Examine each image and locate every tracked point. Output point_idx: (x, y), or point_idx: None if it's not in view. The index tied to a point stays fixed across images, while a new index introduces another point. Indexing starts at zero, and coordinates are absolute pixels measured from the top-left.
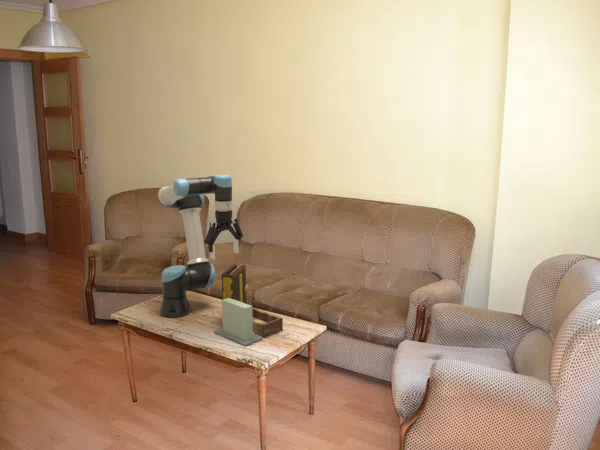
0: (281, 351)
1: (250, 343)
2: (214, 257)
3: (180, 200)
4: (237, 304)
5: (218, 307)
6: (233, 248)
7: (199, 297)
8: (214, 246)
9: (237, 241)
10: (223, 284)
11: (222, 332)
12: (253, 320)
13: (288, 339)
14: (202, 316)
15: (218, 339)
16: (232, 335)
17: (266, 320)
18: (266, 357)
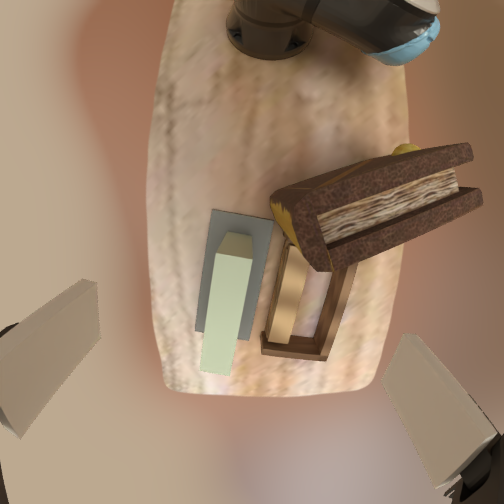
0: (223, 392)
1: None
2: (86, 345)
3: None
4: (211, 332)
5: (367, 100)
6: (423, 358)
7: None
8: (25, 425)
9: (430, 473)
10: (285, 212)
11: (219, 236)
12: (282, 307)
13: (281, 377)
14: (290, 100)
15: (187, 250)
16: None
17: (329, 305)
18: (185, 383)
